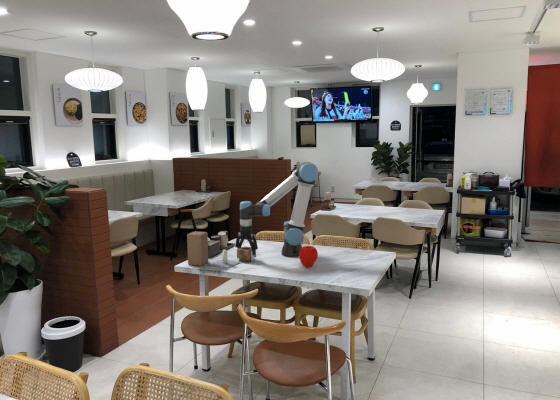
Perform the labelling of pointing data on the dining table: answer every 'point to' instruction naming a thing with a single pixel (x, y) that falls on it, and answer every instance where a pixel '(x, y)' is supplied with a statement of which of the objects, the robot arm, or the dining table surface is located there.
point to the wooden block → (197, 248)
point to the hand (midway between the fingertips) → (246, 258)
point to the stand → (245, 260)
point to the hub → (224, 261)
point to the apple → (308, 256)
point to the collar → (244, 253)
